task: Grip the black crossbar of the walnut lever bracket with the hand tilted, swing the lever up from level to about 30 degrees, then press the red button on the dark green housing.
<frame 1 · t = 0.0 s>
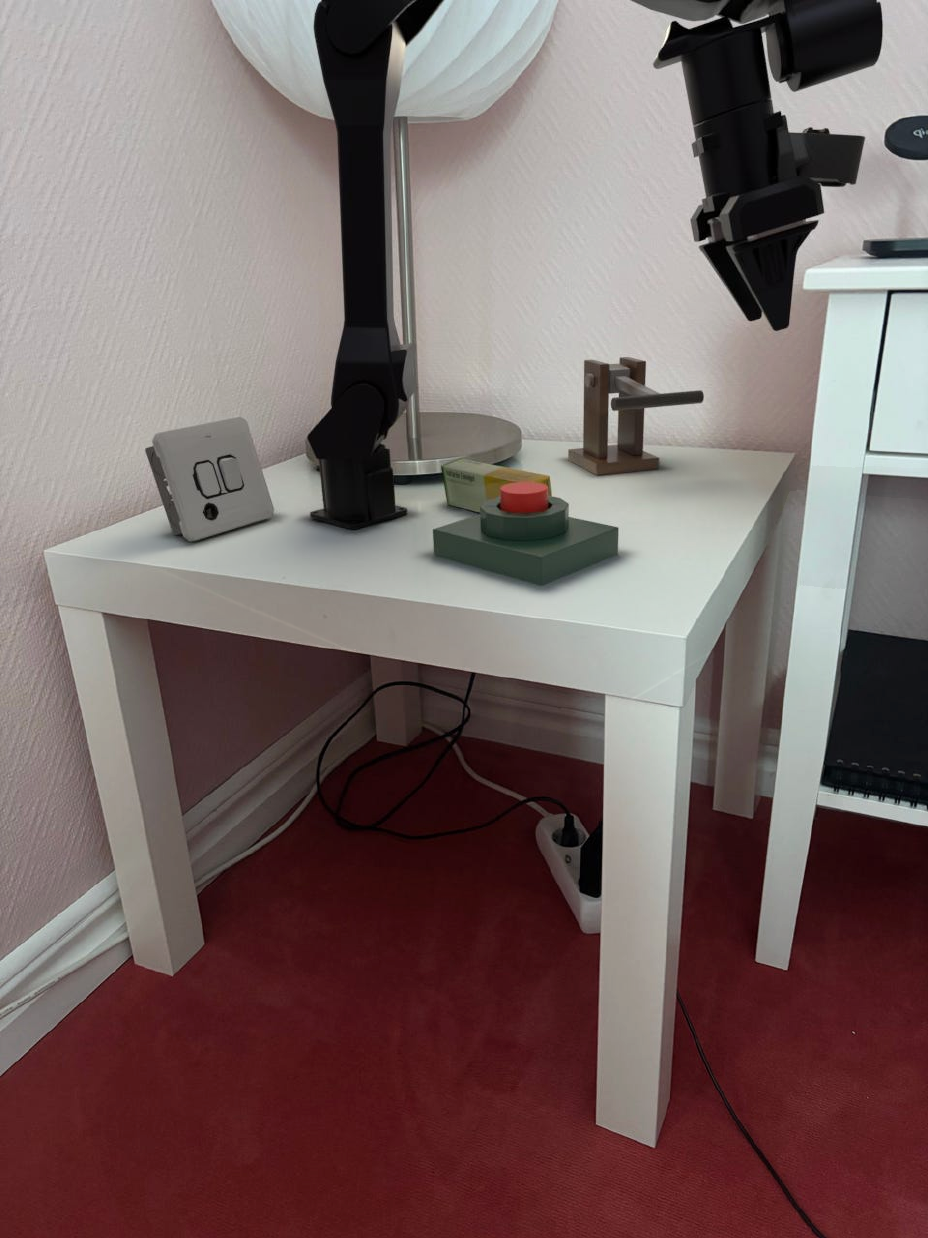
hand: (767, 324, 73), 15 cm above the table, tool pointing down, fingers open, 9 cm apart
electrical switch: (215, 529, 81), on the table
button: (524, 498, 68), point 4 cm above the table, slide at 0.1 cm
bracket: (612, 464, 97), on the table
medication box: (496, 517, 81), on the table
lever: (633, 387, 90), point 9 cm above the table, hinge at -5.0°
button box: (525, 555, 70), on the table
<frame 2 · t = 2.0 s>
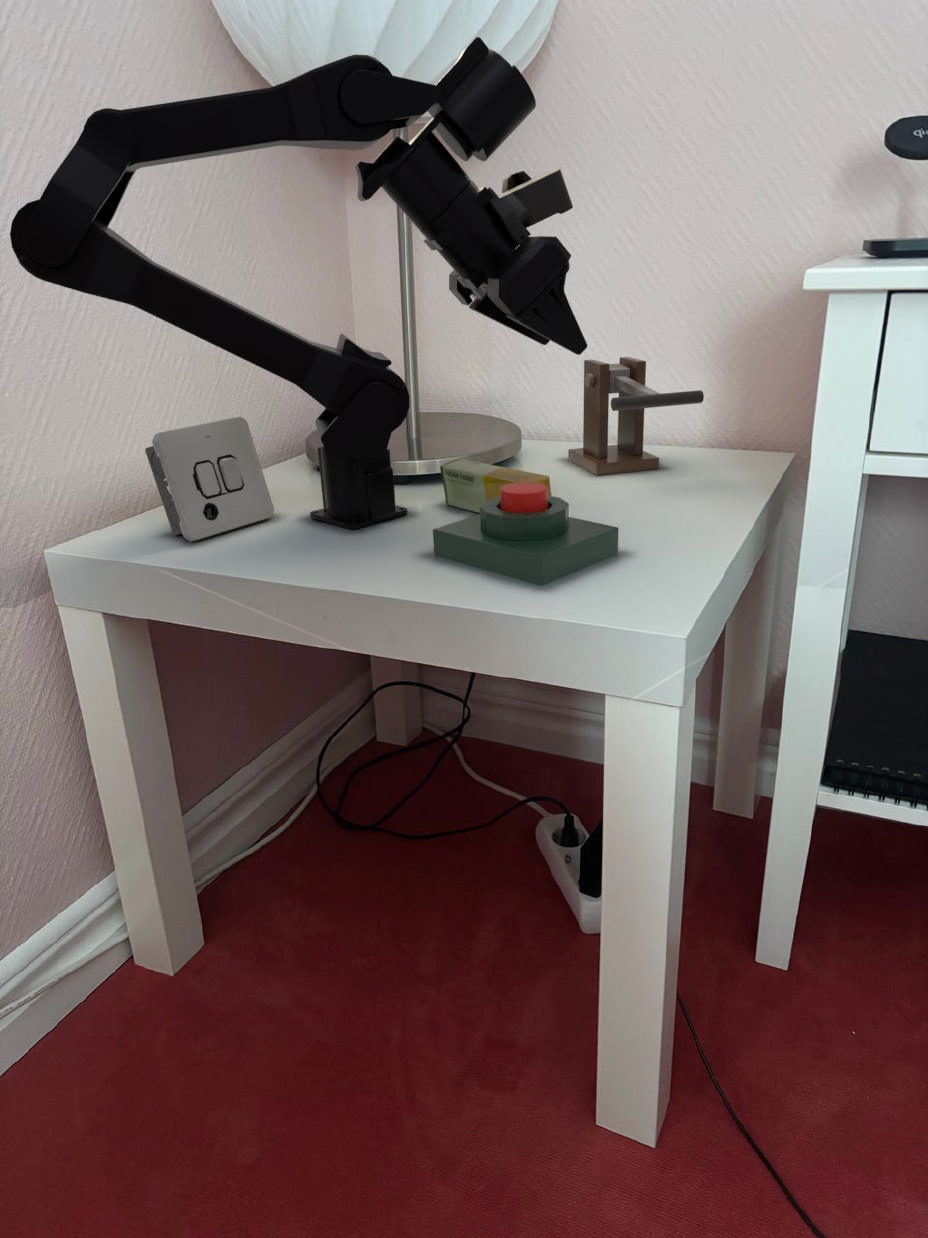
hand: (565, 345, 80), 14 cm above the table, tool tilted 40°, fingers open, 9 cm apart
nothing on the table moved.
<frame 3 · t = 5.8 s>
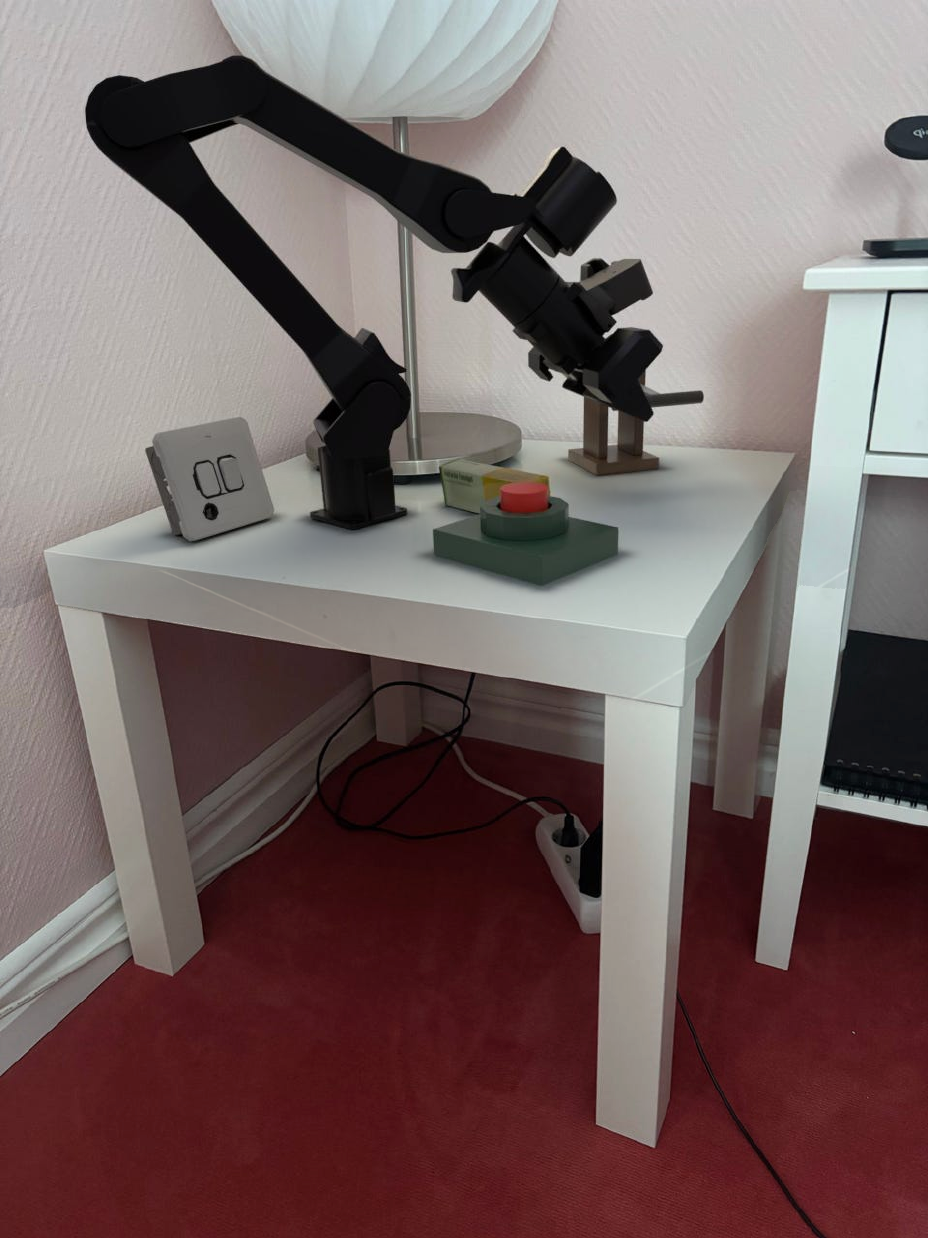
hand: (646, 416, 85), 7 cm above the table, tool tilted 45°, fingers closed on lever
lever: (633, 387, 90), point 9 cm above the table, hinge at -5.0°, touching gripper
everything else where it was.
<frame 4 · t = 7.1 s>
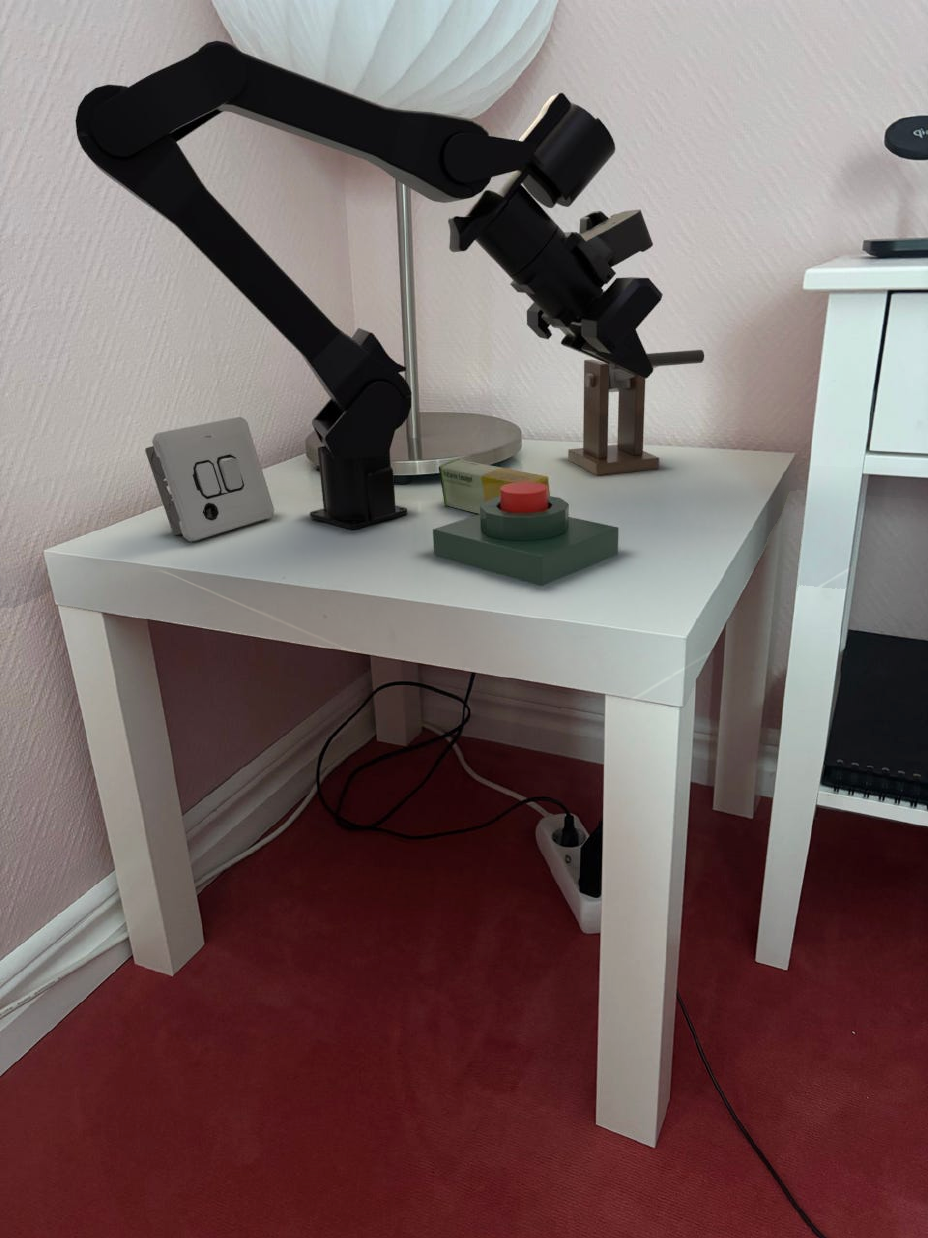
hand: (645, 373, 84), 11 cm above the table, tool tilted 45°, fingers closed on lever
lever: (632, 370, 89), point 10 cm above the table, hinge at 16.4°, touching gripper
everything else where it was.
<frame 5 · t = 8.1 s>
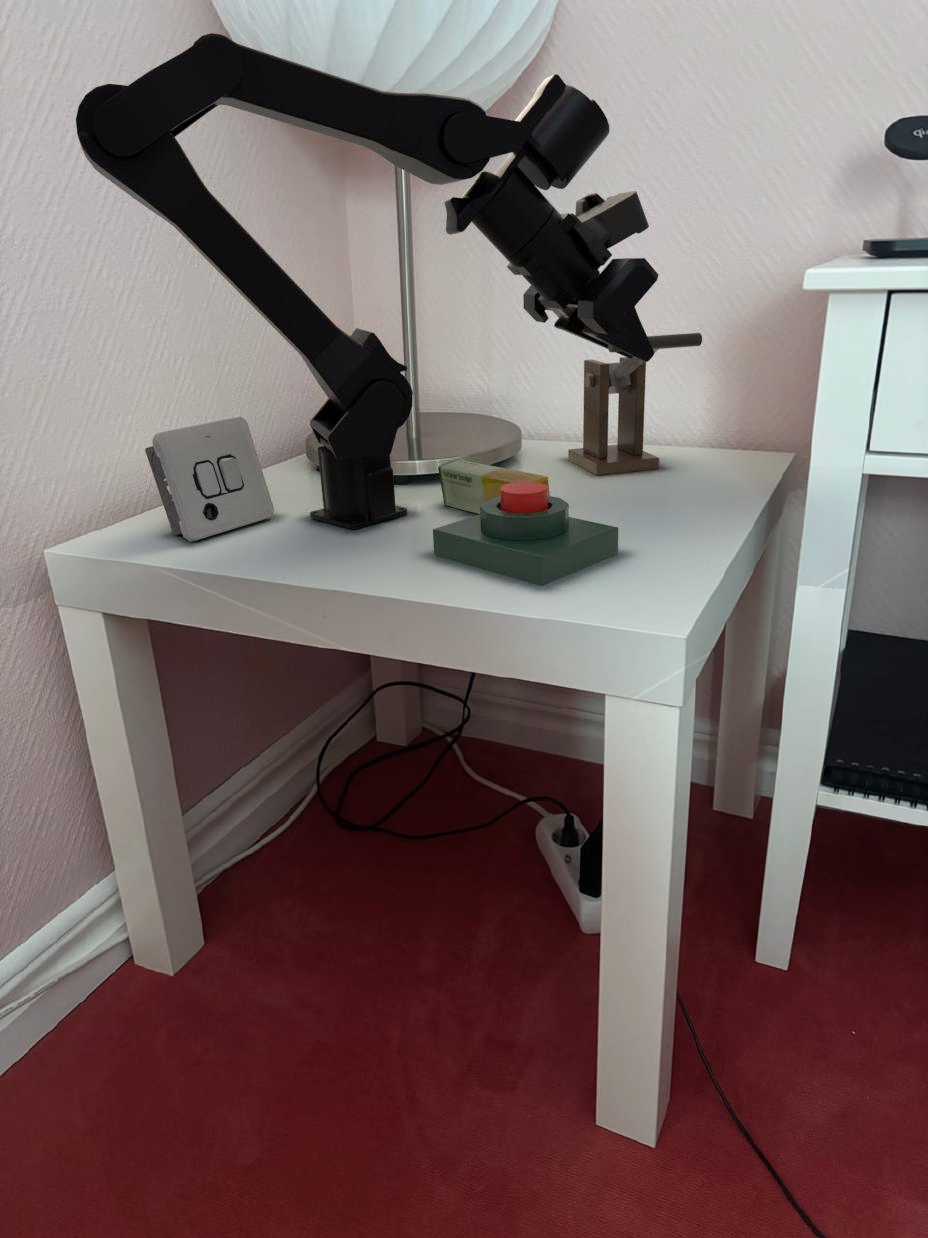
hand: (642, 356, 84), 12 cm above the table, tool tilted 45°, fingers open, 3 cm apart
lever: (632, 362, 89), point 11 cm above the table, hinge at 25.4°
everything else where it was.
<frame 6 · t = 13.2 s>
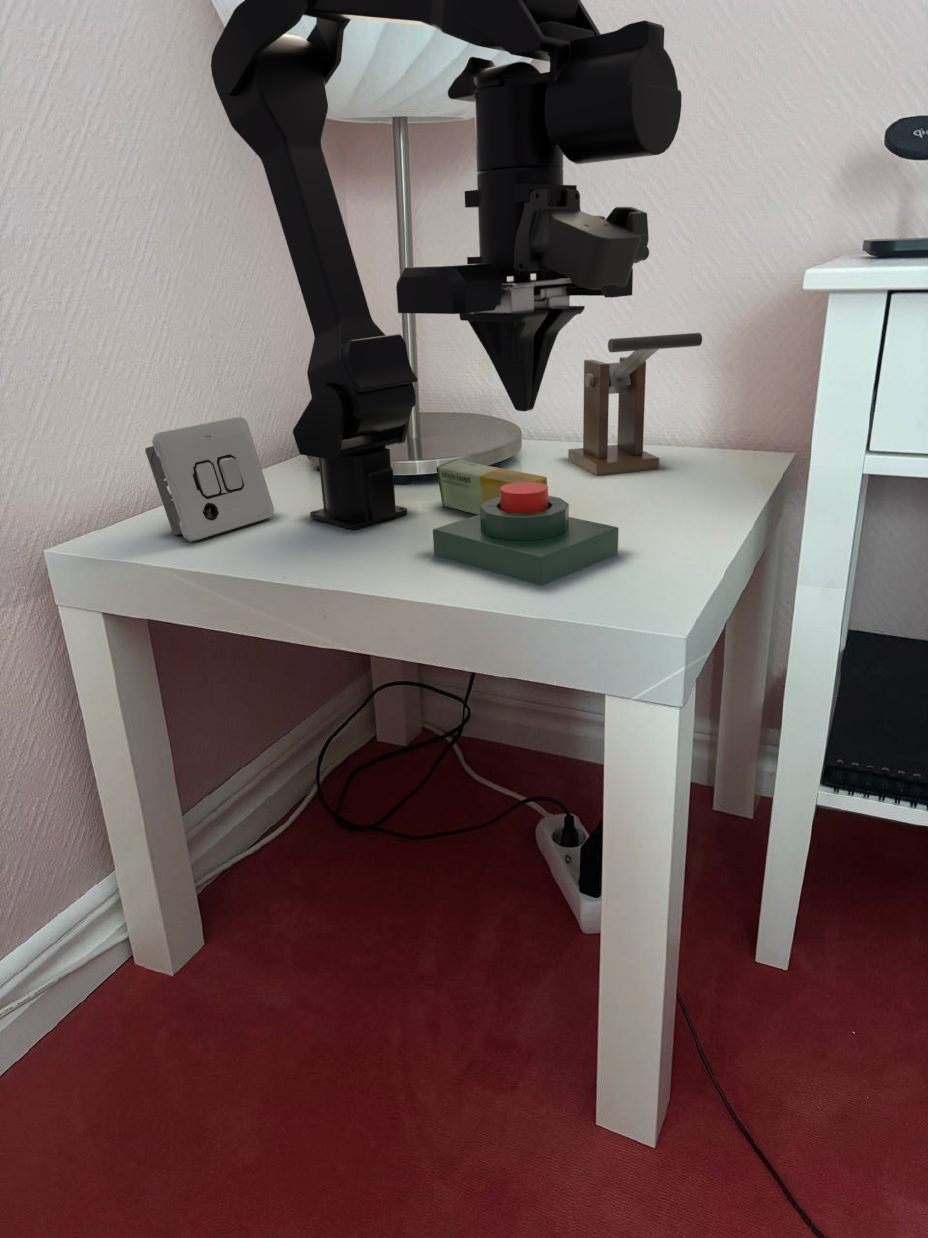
hand: (524, 410, 66), 11 cm above the table, tool pointing down, fingers closed
nothing on the table moved.
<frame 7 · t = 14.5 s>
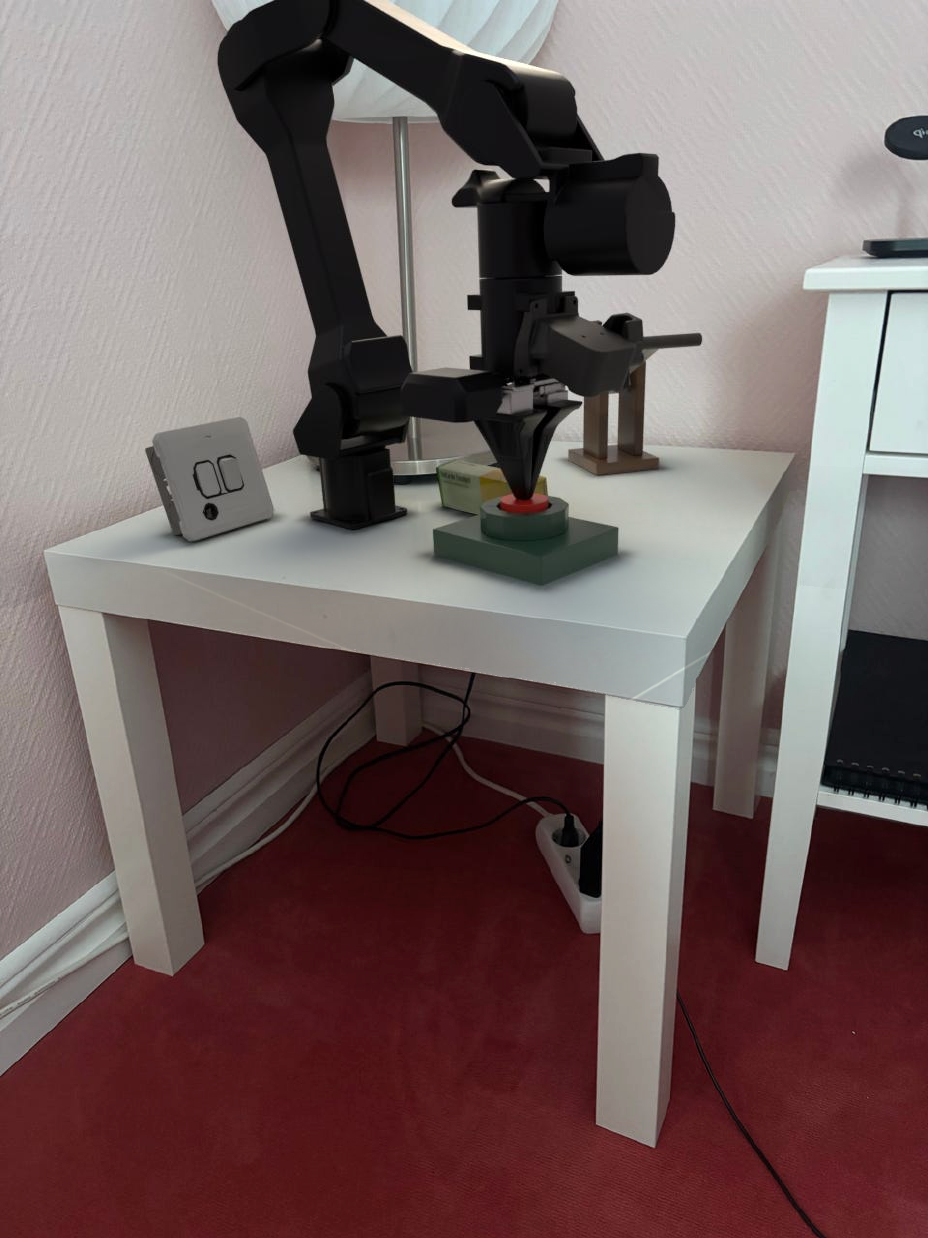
hand: (523, 498, 68), 4 cm above the table, tool pointing down, fingers closed, pressing on button
button: (524, 509, 68), point 4 cm above the table, slide at -0.8 cm, touching gripper
everything else where it was.
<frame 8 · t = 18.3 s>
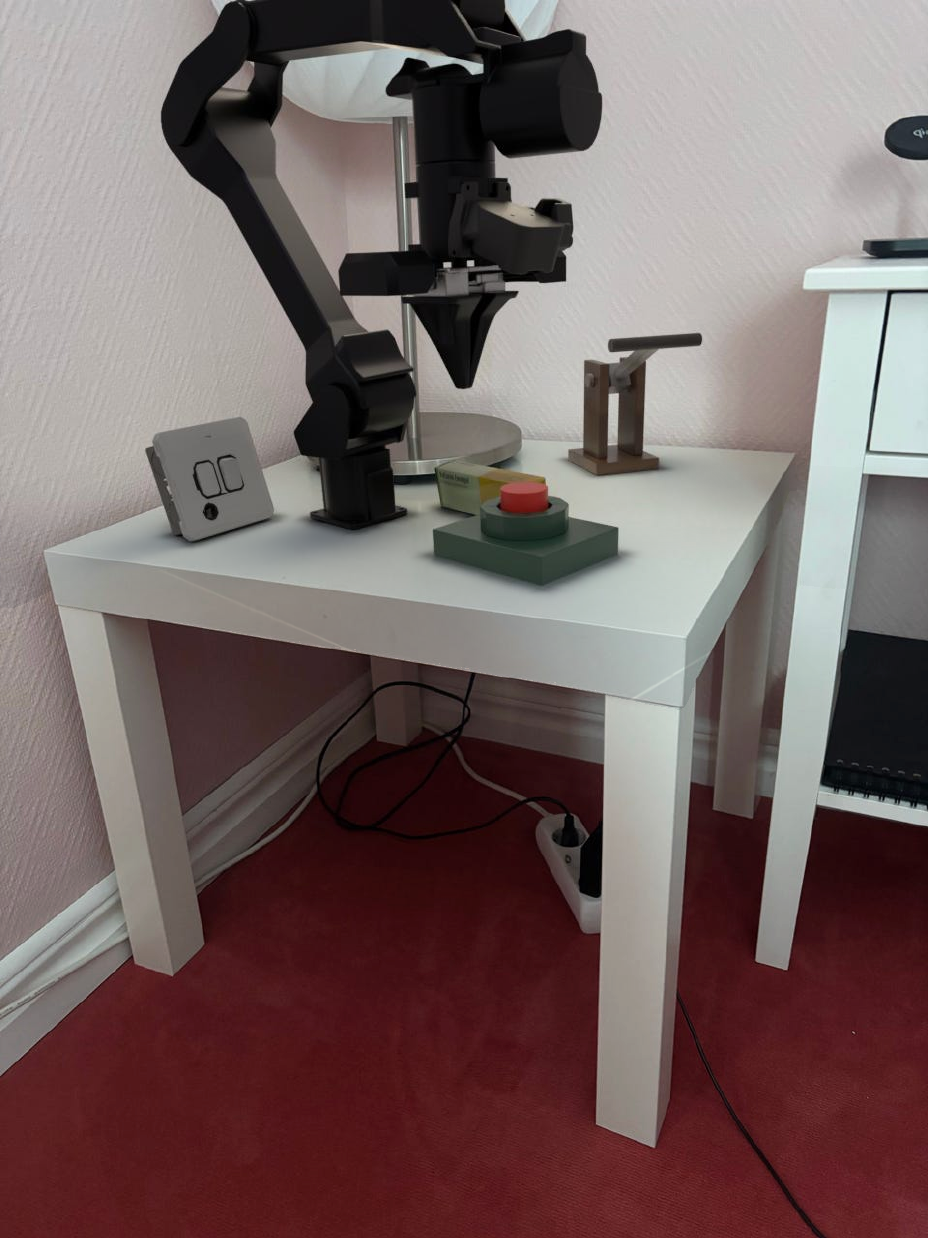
hand: (463, 388, 71), 12 cm above the table, tool pointing down, fingers closed
button: (524, 498, 68), point 4 cm above the table, slide at 0.1 cm
everything else where it was.
at the end: lever at +25° (first picture: -5°); button pushed in 1.2 cm at the most during the clip, back to where it started at the end; button slide at 0.1 cm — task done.
